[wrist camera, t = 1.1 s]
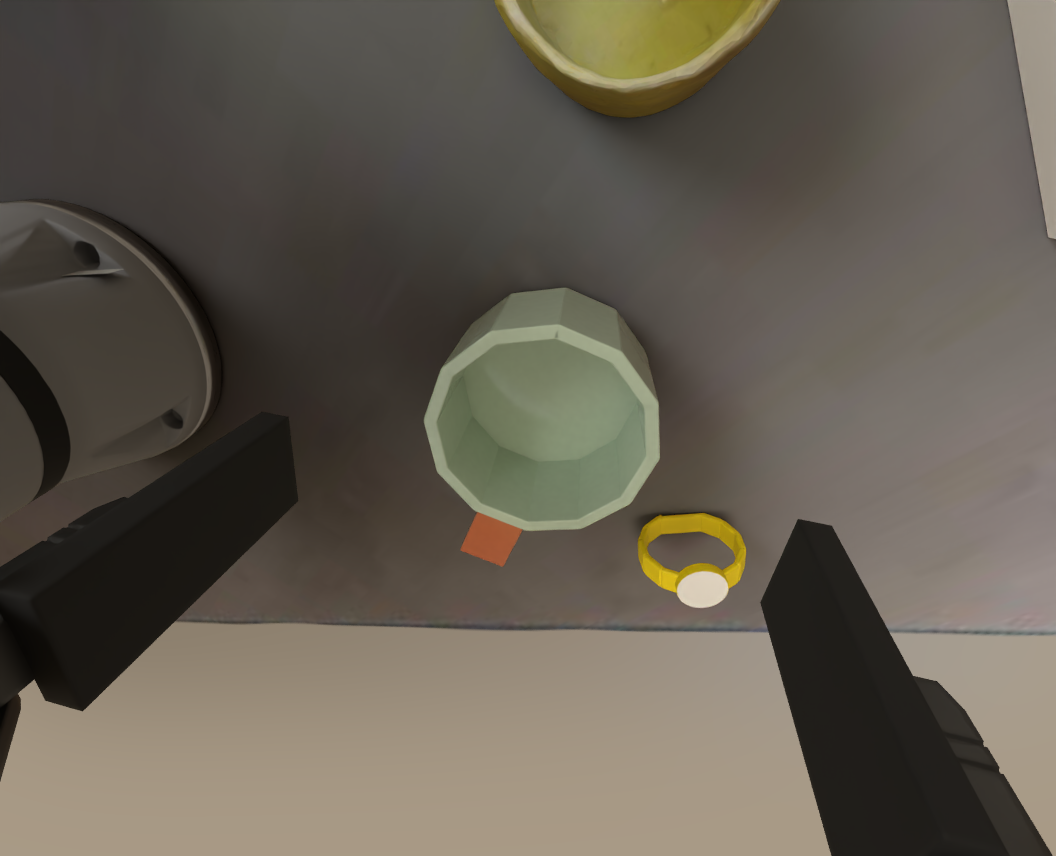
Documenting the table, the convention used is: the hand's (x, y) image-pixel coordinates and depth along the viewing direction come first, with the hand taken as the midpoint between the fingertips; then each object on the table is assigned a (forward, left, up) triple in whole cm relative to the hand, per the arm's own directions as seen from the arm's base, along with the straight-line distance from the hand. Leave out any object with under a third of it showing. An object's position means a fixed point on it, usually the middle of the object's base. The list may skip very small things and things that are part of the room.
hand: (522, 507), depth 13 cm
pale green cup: (-1, -4, -15) cm, 16 cm away
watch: (+6, -14, -17) cm, 23 cm away
